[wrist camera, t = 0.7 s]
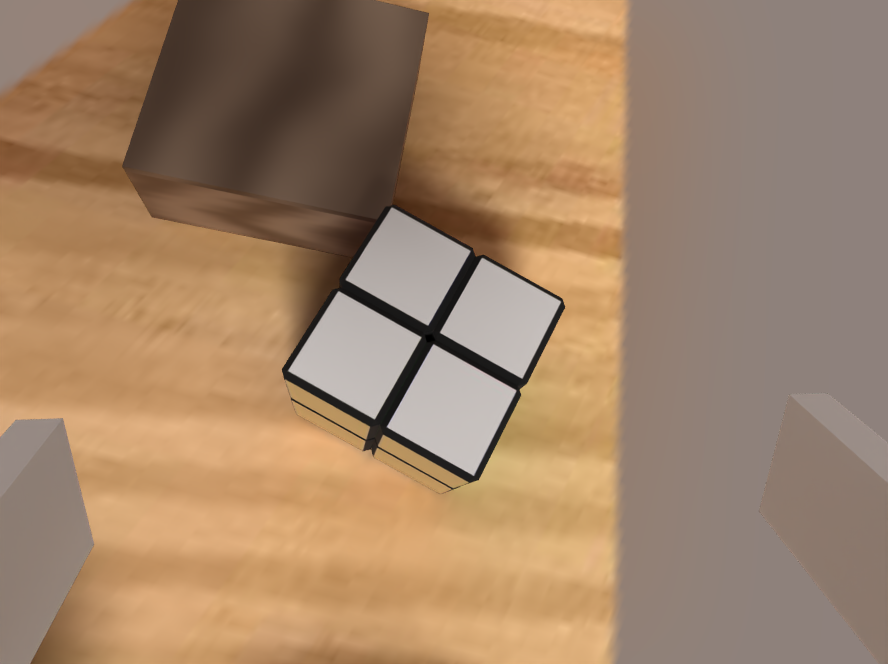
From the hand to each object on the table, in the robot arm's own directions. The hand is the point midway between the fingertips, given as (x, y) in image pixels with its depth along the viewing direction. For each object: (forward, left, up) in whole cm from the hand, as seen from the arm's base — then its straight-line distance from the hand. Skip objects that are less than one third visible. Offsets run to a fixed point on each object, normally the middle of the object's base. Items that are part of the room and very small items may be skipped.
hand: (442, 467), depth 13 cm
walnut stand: (-9, +22, -27) cm, 36 cm away
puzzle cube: (+1, +8, -27) cm, 28 cm away
